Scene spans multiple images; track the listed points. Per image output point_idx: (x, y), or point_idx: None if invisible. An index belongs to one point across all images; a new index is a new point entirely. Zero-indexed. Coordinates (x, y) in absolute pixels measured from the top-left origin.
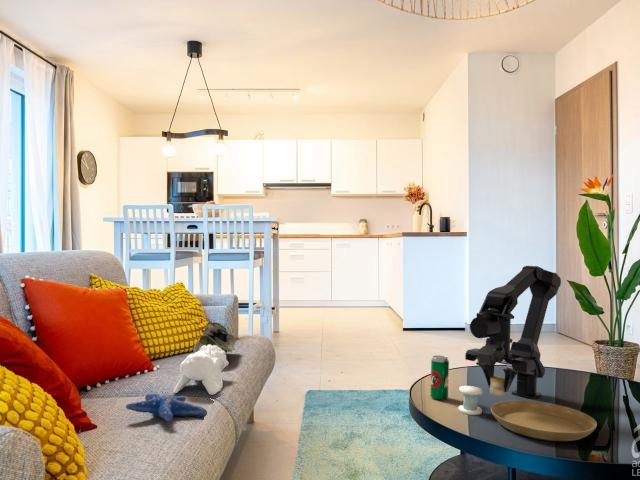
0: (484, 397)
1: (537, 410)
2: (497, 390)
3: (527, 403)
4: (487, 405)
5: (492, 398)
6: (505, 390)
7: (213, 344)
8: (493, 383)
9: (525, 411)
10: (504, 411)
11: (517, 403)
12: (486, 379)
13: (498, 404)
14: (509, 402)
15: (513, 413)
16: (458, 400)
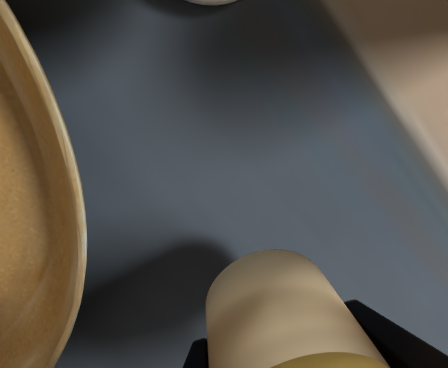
0: (363, 263)
1: (9, 346)
2: (239, 295)
3: (44, 351)
4: (252, 166)
5: None
6: (193, 351)
7: None
8: (305, 335)
9: (38, 283)
10: (44, 132)
11: (70, 295)
12: (442, 354)
13: (42, 96)
14: (78, 244)
15: (21, 184)
16: (435, 50)
